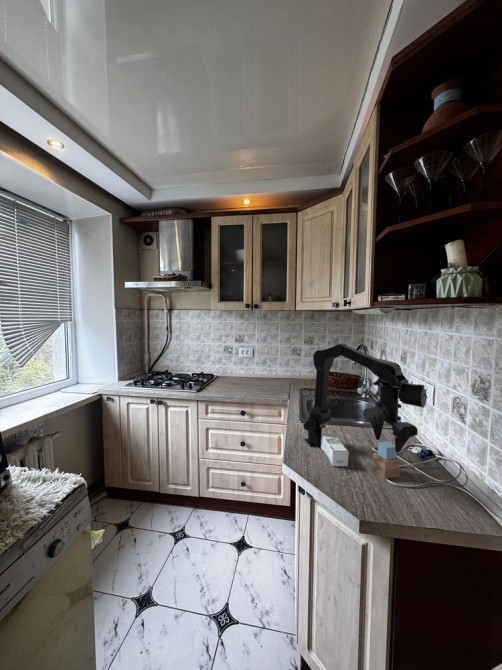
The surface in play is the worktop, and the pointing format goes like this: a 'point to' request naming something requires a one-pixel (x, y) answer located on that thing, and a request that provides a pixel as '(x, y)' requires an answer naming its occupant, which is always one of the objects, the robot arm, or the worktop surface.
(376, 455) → the tower mid
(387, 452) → the blue block
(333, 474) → the worktop surface
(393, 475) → the tower base
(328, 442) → the syrup box
